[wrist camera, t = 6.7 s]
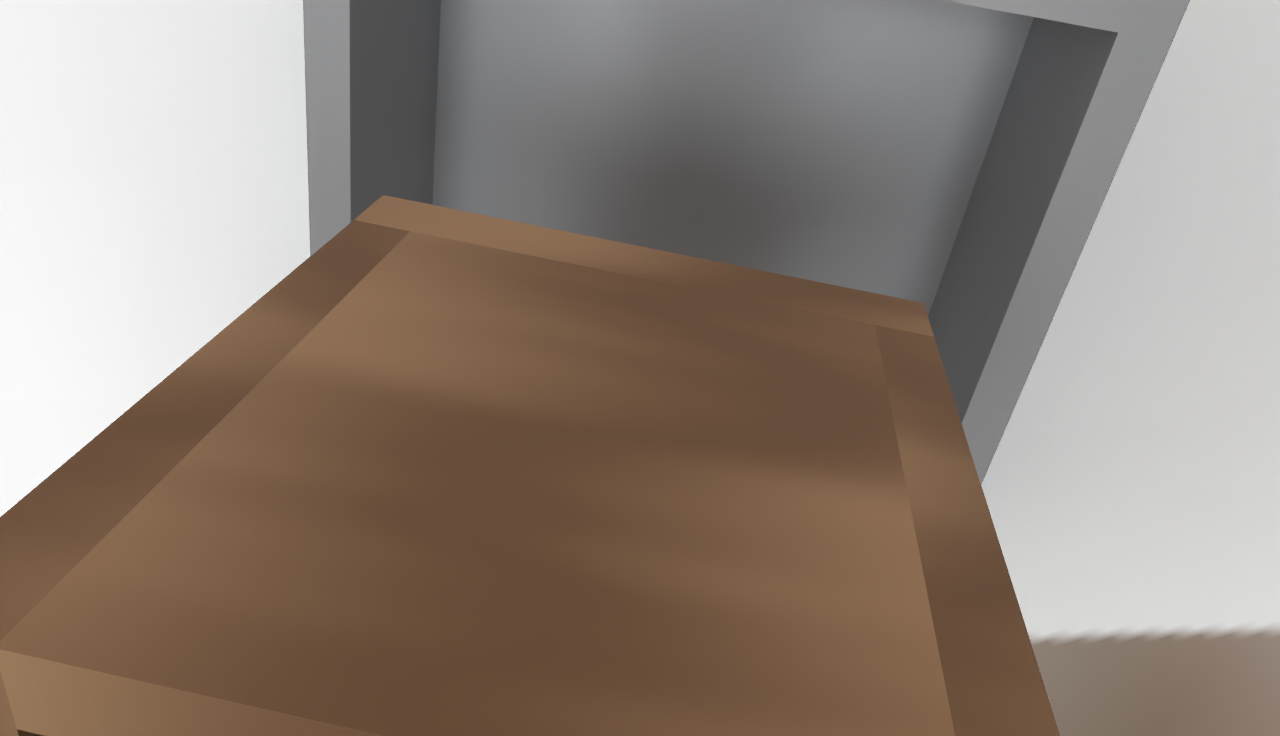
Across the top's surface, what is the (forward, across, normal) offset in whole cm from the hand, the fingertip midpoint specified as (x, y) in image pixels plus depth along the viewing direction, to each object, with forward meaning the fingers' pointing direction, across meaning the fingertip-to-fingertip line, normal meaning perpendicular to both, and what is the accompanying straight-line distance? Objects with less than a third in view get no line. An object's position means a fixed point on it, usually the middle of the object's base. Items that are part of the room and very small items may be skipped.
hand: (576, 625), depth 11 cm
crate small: (+1, 0, 0) cm, 1 cm away
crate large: (+13, 0, 0) cm, 13 cm away
